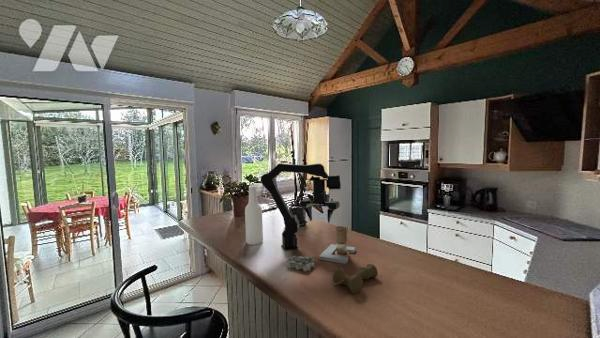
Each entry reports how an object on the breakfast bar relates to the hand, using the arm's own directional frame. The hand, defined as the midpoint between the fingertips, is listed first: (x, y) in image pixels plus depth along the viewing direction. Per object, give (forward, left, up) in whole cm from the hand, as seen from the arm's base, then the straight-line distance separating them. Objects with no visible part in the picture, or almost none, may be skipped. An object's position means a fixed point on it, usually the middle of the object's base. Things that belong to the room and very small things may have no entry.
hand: (319, 221), depth 131 cm
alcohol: (-26, +24, -13) cm, 38 cm away
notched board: (+2, -12, -13) cm, 18 cm away
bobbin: (+4, -13, -13) cm, 19 cm away
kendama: (-8, -37, -14) cm, 40 cm away
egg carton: (-18, -14, -14) cm, 26 cm away
